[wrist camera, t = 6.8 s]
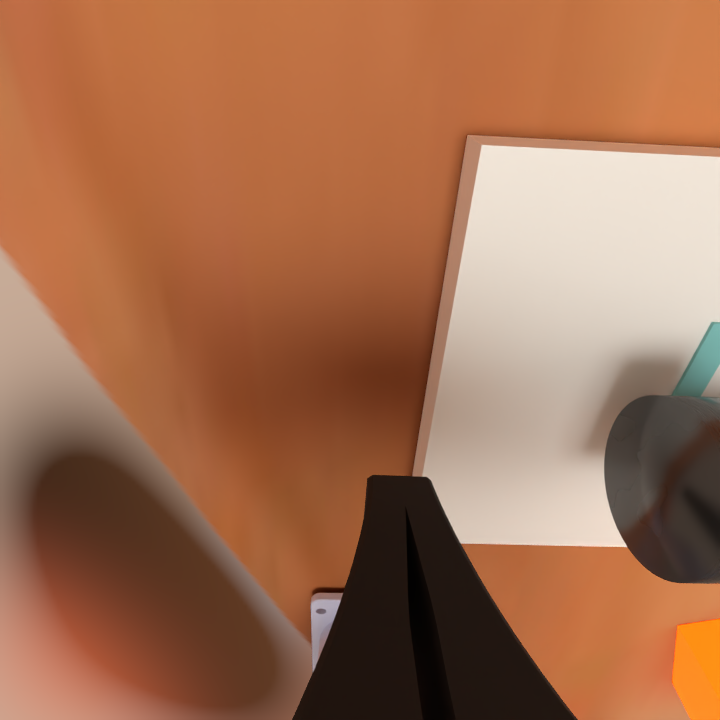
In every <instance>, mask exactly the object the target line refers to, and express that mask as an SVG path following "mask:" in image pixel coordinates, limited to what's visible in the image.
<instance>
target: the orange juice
mask: <svg viewBox="0 0 720 720" xmlns="http://www.w3.org/2000/svg"><path fill="white" fill-rule="evenodd" d="M672 683H673V685H674V687H675V689H676V691H677V693H678V695H679V697H680V699H681V701H682V703H683V705H684V707H685V709H686V711H687V713H688V715H689V717H690V719H691V720H720V619H716V620H709V621H703V622H697V623H690V624H684V625H678V626H677V636H676V646H675V656H674V666H673V676H672Z"/></svg>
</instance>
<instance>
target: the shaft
mask: <svg viewBox="0 0 720 720" xmlns="http://www.w3.org/2000/svg"><path fill="white" fill-rule="evenodd" d="M604 479H605V488H606V494H607V499H608V503H609V507H610V510H611V513H612V516H613V519H614V522H615V524H616V527H617V529H618V531H619V533H620V535H621V537H622V539H623V540H624V542H625V544H626V545H627V547H628V548H629V550H630V551H631V553H632V554H633V555H634V556H635V558H636V559H637V560H638V561H639V562H640V563H641V564H642V565H643V566H644V567H645V568H646V569H648V570H649V571H650V572H652V573H653V574H655V575H656V576H658V577H660V578H662V579H664V580H667V581H671V582H676V583H706V584H720V397H700V396H669V395H647V396H643V397H639V398H637V399H635V400H633V401H632V402H630V403H629V404H628V405H627V406H626V407H625V408H624V409H623V410H622V411H621V412H620V413H619V415H618V416H617V418H616V419H615V421H614V423H613V425H612V428H611V430H610V433H609V436H608V439H607V444H606V449H605V457H604Z"/></svg>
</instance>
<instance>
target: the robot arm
mask: <svg viewBox="0 0 720 720" xmlns="http://www.w3.org/2000/svg"><path fill="white" fill-rule="evenodd" d="M311 634H312V669H313V671H312V672H313V674H312V676H311V678H310V680H309V683H308V685H307V687H306V690H305V692H304V694H303V697H302V699H301V701H300V704H299V706H298V708H297V710H296V712H295V715H294V717H293V719H292V720H577V718H576V717H575V716H574V715H573V713H572V712H571V711H570V710H569V708H568V707H567V706H566V704H565V703H564V702H563V700H562V699H561V698H560V696H559V695H558V694H557V692H556V691H555V690H554V688H553V687H552V686H551V684H550V683H549V682H548V680H547V679H546V678H545V676H544V675H543V674H542V672H541V671H540V669H539V668H538V667H537V665H536V664H535V662H534V661H533V659H532V658H531V657H530V655H529V654H528V652H527V651H526V650H525V648H524V647H523V645H522V644H521V642H520V641H519V639H518V638H517V636H516V635H515V633H514V632H513V630H512V629H511V627H510V626H509V624H508V623H507V621H506V620H505V618H504V617H503V615H502V613H501V612H500V610H499V609H498V607H497V605H496V604H495V602H494V601H493V599H492V597H491V596H490V594H489V593H488V591H487V589H486V588H485V586H484V584H483V583H482V581H481V579H480V578H479V576H478V574H477V572H476V570H475V569H474V567H473V565H472V563H471V562H470V560H469V558H468V556H467V554H466V553H465V551H464V549H463V547H462V545H461V543H460V542H459V540H458V538H457V536H456V534H455V532H454V530H453V528H452V526H451V524H450V522H449V520H448V518H447V516H446V514H445V511H444V509H443V507H442V505H441V503H440V501H439V498H438V496H437V494H436V491H435V489H434V486H433V484H432V481H431V480H430V479H429V478H428V477H420V476H387V475H372V476H371V477H369V478H367V489H366V500H365V511H364V520H363V525H362V530H361V534H360V538H359V542H358V545H357V549H356V553H355V557H354V560H353V564H352V567H351V571H350V574H349V577H348V580H347V583H346V586H345V589H344V592H343V593H316V594H314V595H313V596H312V598H311Z"/></svg>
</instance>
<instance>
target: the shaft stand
mask: <svg viewBox="0 0 720 720" xmlns="http://www.w3.org/2000/svg"><path fill="white" fill-rule="evenodd" d="M647 395H669V396H700V397H720V148H714V147H695V146H675V145H656V144H636V143H617V142H597V141H578V140H558V139H539V138H519V137H499V136H480V135H467V140H466V146H465V153H464V159H463V165H462V171H461V177H460V183H459V190H458V196H457V202H456V208H455V214H454V221H453V227H452V233H451V239H450V245H449V251H448V258H447V264H446V270H445V276H444V282H443V289H442V295H441V301H440V307H439V313H438V319H437V326H436V332H435V338H434V344H433V350H432V356H431V363H430V369H429V375H428V381H427V387H426V394H425V400H424V406H423V412H422V418H421V424H420V431H419V437H418V443H417V449H416V455H415V462H414V468H413V474H412V476H420V477H428V478H429V479H430V480H431V481H432V484H433V486H434V489H435V491H436V494H437V496H438V498H439V501H440V503H441V505H442V507H443V509H444V511H445V514H446V516H447V518H448V520H449V522H450V524H451V526H452V528H453V530H454V532H455V534H456V536H457V538H458V540H459V542H460V543H463V544H510V545H557V546H603V547H627V545H626V544H625V542H624V540H623V539H622V537H621V535H620V533H619V531H618V529H617V527H616V524H615V522H614V519H613V516H612V513H611V510H610V507H609V503H608V499H607V494H606V488H605V479H604V457H605V449H606V444H607V439H608V436H609V433H610V430H611V428H612V425H613V423H614V421H615V419H616V418H617V416H618V415H619V413H620V412H621V411H622V410H623V409H624V408H625V407H626V406H627V405H628V404H629V403H630V402H632V401H633V400H635V399H637V398H639V397H643V396H647Z"/></svg>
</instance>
